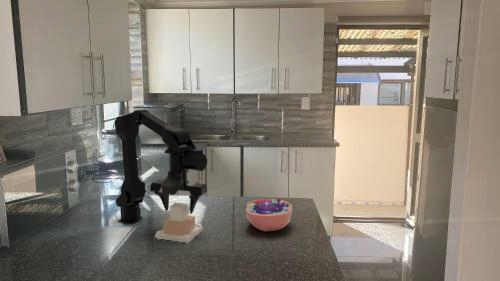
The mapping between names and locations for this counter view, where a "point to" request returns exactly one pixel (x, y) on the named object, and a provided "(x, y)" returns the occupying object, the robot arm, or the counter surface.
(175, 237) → the base plate
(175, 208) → the cream brick
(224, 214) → the counter surface
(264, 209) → the cell model
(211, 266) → the counter surface
